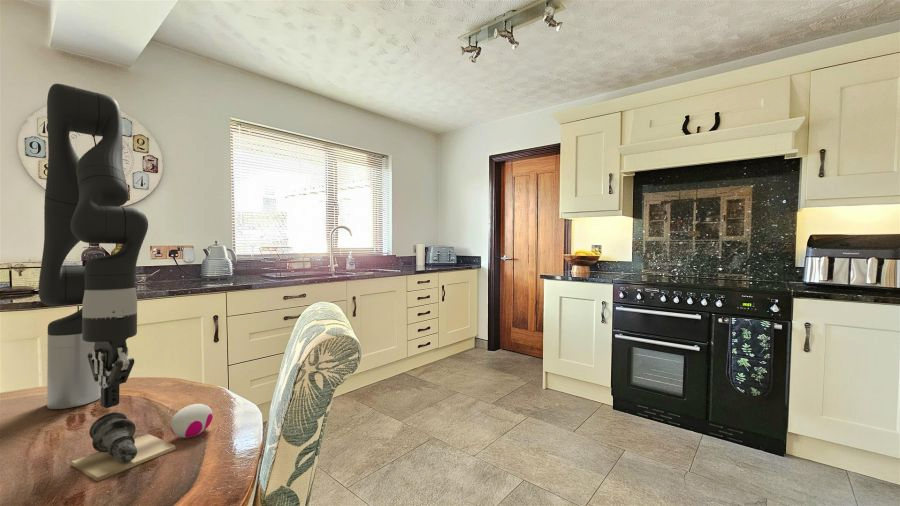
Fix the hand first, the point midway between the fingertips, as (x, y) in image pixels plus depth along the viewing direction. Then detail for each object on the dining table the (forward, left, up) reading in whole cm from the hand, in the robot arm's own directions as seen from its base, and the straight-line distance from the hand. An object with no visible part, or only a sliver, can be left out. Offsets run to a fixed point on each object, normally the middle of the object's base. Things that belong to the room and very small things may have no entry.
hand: (110, 405), depth 69 cm
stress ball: (+9, +10, -8) cm, 16 cm away
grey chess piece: (+1, 0, -3) cm, 3 cm away
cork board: (+7, 0, -8) cm, 10 cm away
